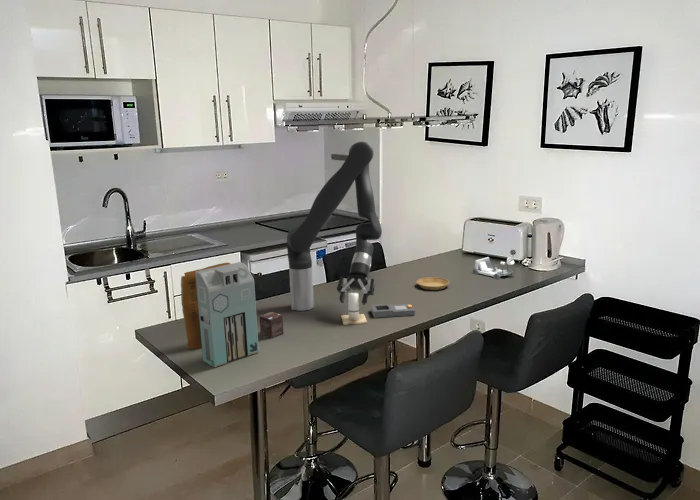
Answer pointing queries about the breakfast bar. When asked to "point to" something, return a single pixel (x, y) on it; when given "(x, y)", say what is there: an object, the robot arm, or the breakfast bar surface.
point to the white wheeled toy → (492, 268)
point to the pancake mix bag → (192, 307)
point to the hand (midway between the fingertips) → (352, 303)
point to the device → (227, 313)
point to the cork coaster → (348, 322)
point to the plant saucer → (432, 283)
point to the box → (271, 324)
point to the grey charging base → (392, 310)
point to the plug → (353, 305)
